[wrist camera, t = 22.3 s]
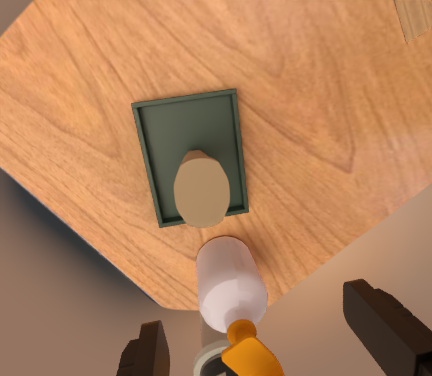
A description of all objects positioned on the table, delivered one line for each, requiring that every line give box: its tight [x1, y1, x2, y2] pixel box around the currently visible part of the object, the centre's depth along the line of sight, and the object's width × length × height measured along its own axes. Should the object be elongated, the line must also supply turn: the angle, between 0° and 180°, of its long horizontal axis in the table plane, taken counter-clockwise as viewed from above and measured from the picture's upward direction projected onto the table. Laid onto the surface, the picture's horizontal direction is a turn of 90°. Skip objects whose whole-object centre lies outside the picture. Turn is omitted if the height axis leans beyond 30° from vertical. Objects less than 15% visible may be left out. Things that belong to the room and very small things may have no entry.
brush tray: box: [131, 89, 249, 228], centre depth 37 cm, size 17×13×2 cm
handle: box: [174, 150, 230, 228], centre depth 30 cm, size 5×6×15 cm
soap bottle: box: [196, 236, 284, 376], centre depth 32 cm, size 9×9×25 cm
